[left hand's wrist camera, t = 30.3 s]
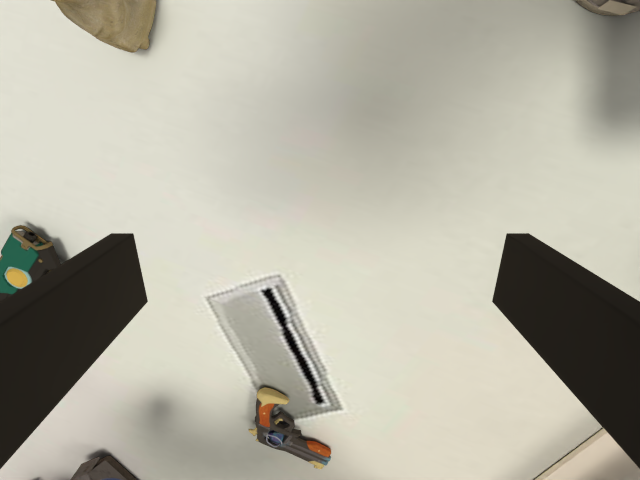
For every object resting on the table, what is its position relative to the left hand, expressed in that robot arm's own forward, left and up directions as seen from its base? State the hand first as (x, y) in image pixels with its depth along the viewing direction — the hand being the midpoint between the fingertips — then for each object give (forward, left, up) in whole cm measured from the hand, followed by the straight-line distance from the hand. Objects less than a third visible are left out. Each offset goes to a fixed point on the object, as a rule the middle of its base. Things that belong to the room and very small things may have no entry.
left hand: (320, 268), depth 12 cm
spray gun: (+45, +3, -33) cm, 55 cm away
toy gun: (+20, +42, -33) cm, 57 cm away
